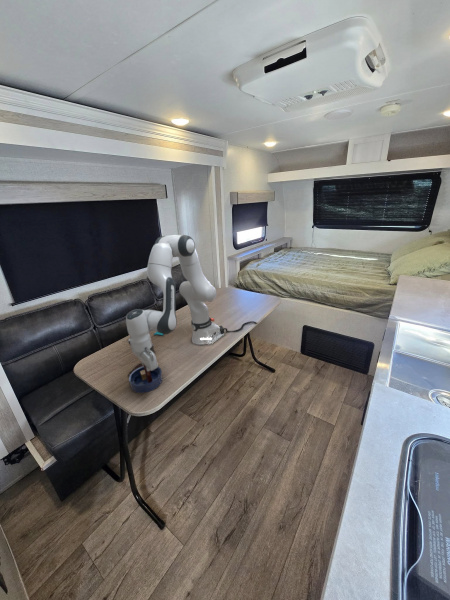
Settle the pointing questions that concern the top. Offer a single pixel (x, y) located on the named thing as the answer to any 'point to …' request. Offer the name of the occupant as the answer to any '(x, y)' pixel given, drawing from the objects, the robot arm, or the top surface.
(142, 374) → the block
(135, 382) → the bowl
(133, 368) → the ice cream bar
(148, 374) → the chopstick
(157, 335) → the smartphone
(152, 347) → the holder
